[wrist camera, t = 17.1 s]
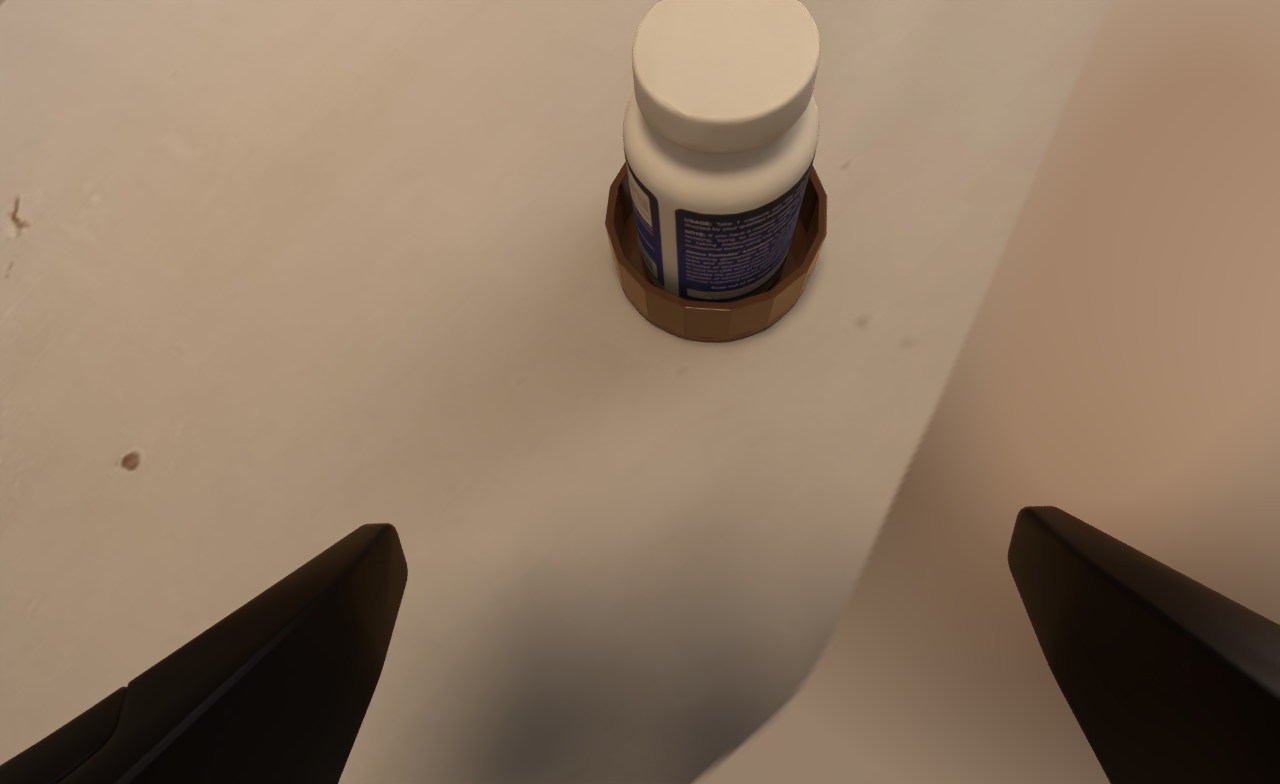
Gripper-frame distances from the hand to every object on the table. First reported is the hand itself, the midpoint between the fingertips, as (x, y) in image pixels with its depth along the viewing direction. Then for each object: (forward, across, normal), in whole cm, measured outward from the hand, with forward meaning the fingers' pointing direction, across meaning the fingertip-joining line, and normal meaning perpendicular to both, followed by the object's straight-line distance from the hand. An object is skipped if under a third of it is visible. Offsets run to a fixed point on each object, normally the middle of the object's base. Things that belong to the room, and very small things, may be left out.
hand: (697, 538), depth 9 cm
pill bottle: (+18, -1, +1) cm, 18 cm away
